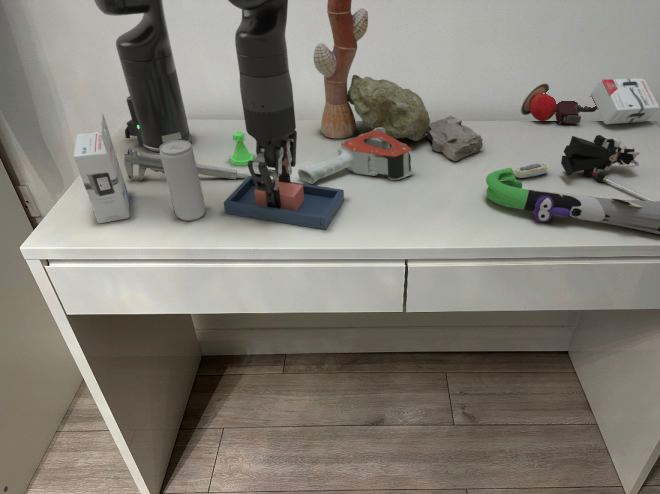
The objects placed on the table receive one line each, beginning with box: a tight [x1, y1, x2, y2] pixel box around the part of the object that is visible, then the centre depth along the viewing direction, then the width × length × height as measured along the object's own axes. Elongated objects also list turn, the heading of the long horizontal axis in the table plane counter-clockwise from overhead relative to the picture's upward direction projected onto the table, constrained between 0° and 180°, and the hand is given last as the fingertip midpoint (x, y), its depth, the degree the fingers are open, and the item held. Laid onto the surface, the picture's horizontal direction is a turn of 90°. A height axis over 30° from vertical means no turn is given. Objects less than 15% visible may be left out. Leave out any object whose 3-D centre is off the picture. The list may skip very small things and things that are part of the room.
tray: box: [222, 175, 345, 230], centre depth 93 cm, size 18×10×2 cm, turn 75°
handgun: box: [554, 101, 598, 125], centre depth 127 cm, size 24×3×15 cm
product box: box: [73, 112, 131, 224], centre depth 87 cm, size 9×5×15 cm, turn 21°
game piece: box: [230, 131, 255, 167], centre depth 104 cm, size 4×4×6 cm
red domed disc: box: [520, 82, 557, 122], centre depth 122 cm, size 8×8×6 cm
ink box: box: [590, 77, 660, 125], centre depth 122 cm, size 8×5×12 cm
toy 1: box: [485, 167, 660, 235], centre depth 92 cm, size 6×11×30 cm
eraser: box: [254, 181, 304, 211], centre depth 92 cm, size 4×7×3 cm, turn 75°
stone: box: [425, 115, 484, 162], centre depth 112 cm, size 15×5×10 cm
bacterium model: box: [513, 163, 551, 179], centre depth 102 cm, size 12×2×5 cm
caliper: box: [123, 145, 245, 182], centre depth 98 cm, size 20×1×6 cm, turn 94°
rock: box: [347, 74, 431, 141], centre depth 114 cm, size 15×19×15 cm
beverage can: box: [159, 140, 207, 222], centre depth 87 cm, size 5×5×12 cm
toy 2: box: [560, 134, 655, 201], centre depth 97 cm, size 8×20×15 cm
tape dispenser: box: [297, 127, 414, 185], centre depth 103 cm, size 18×5×20 cm
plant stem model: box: [313, 0, 369, 140], centre depth 107 cm, size 10×7×30 cm
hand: (279, 201), depth 93 cm, fingers closed on eraser, 4 cm apart
